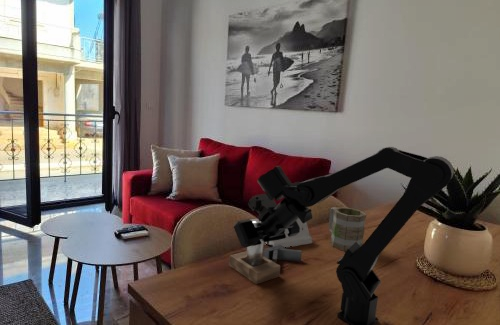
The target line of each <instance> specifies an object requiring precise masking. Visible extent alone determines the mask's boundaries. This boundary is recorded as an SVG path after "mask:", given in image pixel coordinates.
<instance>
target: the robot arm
mask: <svg viewBox="0 0 500 325" xmlns="http://www.w3.org/2000/svg"><path fill="white" fill-rule="evenodd" d="M386 169H389V170H391V171H394V172H396V173H398V174H400V175H402V176H405V177H406V178H410V180H409V182H408V184H407V186H406V187H405V191H404V193H403V194H402V196H401V197H400V198H399V199H398V201H396V203H395V204H394V205H393V206H392V208H391V209H390V210H389V212H388V213H387V214H386V215H385V217H384V218H383V219H382V220H381V222H380V223H379V224H378V225H377V227H376V228H375V229H374V230H373V232H371V234H370V235H369V237H367V239H366V241H365V242H364V243H362V245H361V246H360V245H359V244H358V243H357V242H355V243H354V244H353V245H351V246H350V247H349V248H348V249H347V251H344V254H343V256H341V258H339V260H337V261H336V264H338V266H337V268H336V270H335V273H336V277H337V279H338V282H339V283H340V284H341V287H342V293H341V300H340V309H339V310H340V311H339V312H337V313H336V317H337V318H339V319H341V320H343V321H344V322H346V323H347V324H349V325H376V324H377V323H379V322H380V319H379V318H378V317H376V314H377V306H378V300H379V296H377V294H375V292H376V290H377V289H378V287H379V285H380V284H381V279H380V278H379V276H378V275H377V273H375V271H374V270H373V268H374V267H375V265H376V263H377V261H378V258H379V257H380V255H381V253H382V252H383V251H384V250H385V249H386V247H387V246H388V245H389V244H390V242H392V241H393V239H394V238H395V237H396V235H397V234H398V233H399V232H400V230H402V228H403V227H404V226H405V225H406V224H407V222H408V221H409V220H410V219H411V218H412V216H413V215H414V214H415V213H416V212H417V210H419V208H420V207H421V206H422V205H424V204H425V203H427V202H429V200H430V199H432V198H433V197H435V196H436V195H437V194H438V193H440V192H441V191H442V190H443V189H445V187H447V186H448V185H449V183H450V182H451V180H452V178H453V176H454V174H455V173H454V172H455V171H454V166H453V164H452V163H451V161H450V160H448V159H447V158H446V157H443V156H436V155H435V156H430V157H426V156H424V155H423V156H422V155H420V154H416V153H412V152H408V151H405V150H401V149H398V148H396V147H394V146H387V147H383V148H381V149H379V150H378V151H377V152H375V153H373V154H371V155H369V156H367V157H364V158H362V159H360V160H357V161H356V162H353V163H351V164H349V165H347V166H345V167H343V168H341V169H339V170H337V171H334V172H333V173H330V174H326V175H322V176H317V177H313V178H310V179H307V180H305V181H301V182H300V181H296V182H293V183H292V182H291V180H290V179H289V177H288V176H287V175H286V173H285V172H284V169H283V168H282V167H281V166H280V165H275V167H273V168H272V169H270V170H268V171H267V172H265V173H262V175H260V176H259V178H257V183H258V184H259V186H260V187H261V189H262V191H263V192H264V193H262V194H255V196H254V195H253V196H252V197H251V198H250V199H249V201H248V203H247V206H248V207H249V209H250V210H251V211H252V212H256V213H257V214H258V216H257V219H258V220H259V221H261V223H257V226H258V227H255V226H254V224H253V222H252V220H251V219H249V218H248V219H243V220H238V221H236V222H235V223H234V225H233V228H234V231H235V233H236V237H237V238H238V241H239V244H240V246H241V247H242V248H247V247H249V246H255V245H259V244H262V243H261V241H260V240H261V239H263V236H265V237H264V243H265V242H268V241H274V240H280V239H284V238H286V235H285V233H284V232H285V229H288V231H289V233H288V236H289V237H291V236H295V235H297V234H298V233H299V232H300V227H299V225H298V223H297V221H296V220H297V219H298V218H299V219H300V220H301V222H302V223H306V222H308V221H310V220H312V219H313V214H312V209H311V207H313V206H315V205H317V204H319V203H321V202H323V201H325V200H326V199H328V198H330V197H331V196H332V195H334V194H335V193H337V192H338V191H339V190H340V189H342V188H344V187H346V186H349V185H351V184H354V183H356V182H357V181H360V180H362V179H365V178H367V177H369V176H371V175H374V174H376V173H378V172H381V171H383V170H386ZM278 201H280V202H279V203H277V202H278ZM261 232H262V233H261Z"/></svg>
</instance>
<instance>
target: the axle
mask: <svg viewBox="0 0 500 325" xmlns="http://www.w3.org/2000/svg"><path fill="white" fill-rule="evenodd" d="M250 220H252V222H253V224H254V226H255V227H258V226H257V223H261V221H259V220H258V218H251V219H250ZM261 233H262V232H261ZM264 237H265V236H263V239H261V240H260V241H261V243H262V244H259V245H255V246H249V247H246V251H247V258H246V263H247V264H249V265H251V266H252V267H254V266H258V265H261V264H262V261H263V256H264V250H265V248H264V247H265V242H264Z"/></svg>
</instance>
